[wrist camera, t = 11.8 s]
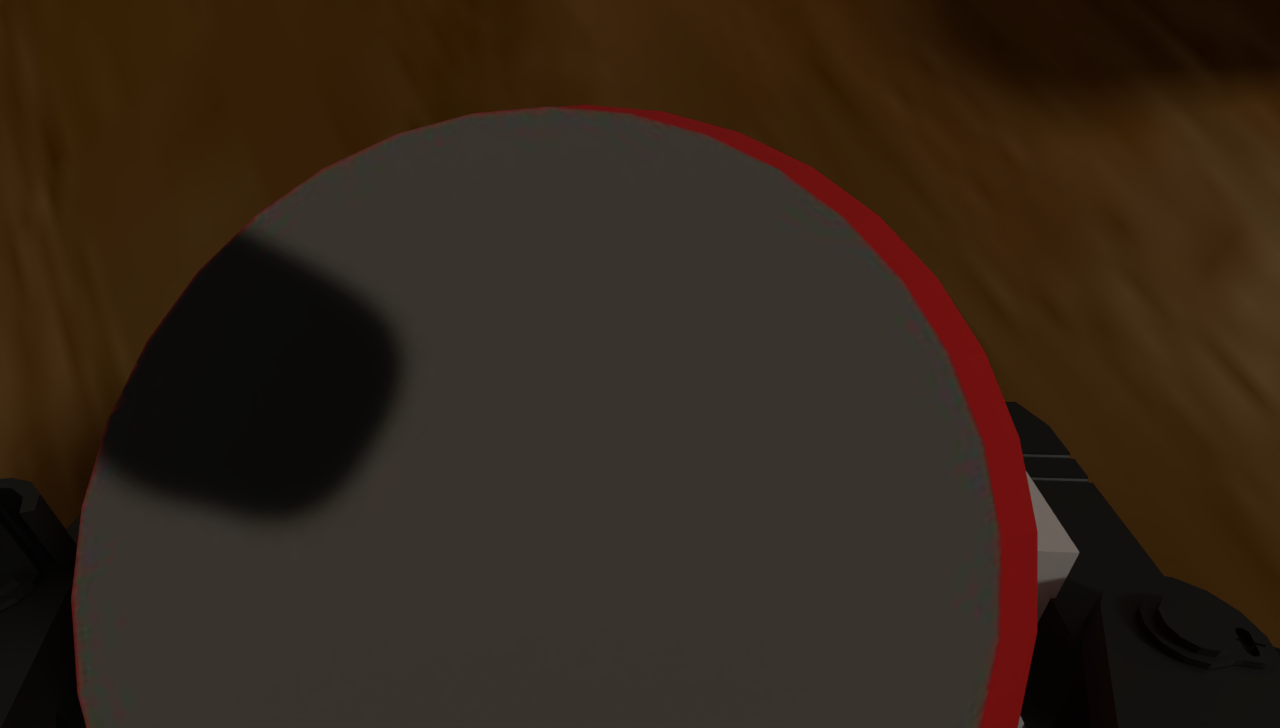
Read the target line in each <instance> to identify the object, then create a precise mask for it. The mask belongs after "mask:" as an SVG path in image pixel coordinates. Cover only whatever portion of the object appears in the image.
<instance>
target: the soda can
mask: <svg viewBox="0 0 1280 728" xmlns="http://www.w3.org/2000/svg"><path fill="white" fill-rule="evenodd" d="M1037 586H1038V531H1037V526H1036V521H1035V516H1034V511H1033V505H1032V500H1031V495H1030V490H1029V485H1028V480H1027V474H1026V469H1025V464H1024V459H1023V454H1022V449H1021V444H1020V438H1019V436H1018V433H1017V431H1016V428H1015V426H1014V423H1013V421H1012V418H1011V416H1010V413H1009V411H1008V408H1007V406H1006V403H1005V401H1004V398H1003V396H1002V393H1001V391H1000V388H999V386H998V383H997V381H996V378H995V376H994V373H993V371H992V368H991V366H990V364H989V361H988V359H987V356H986V354H985V352H984V350H983V348H982V347H981V345H980V344H979V342H978V341H977V339H976V338H975V336H974V334H973V333H972V331H971V330H970V328H969V327H968V325H967V324H966V322H965V320H964V319H963V317H962V316H961V314H960V313H959V311H958V310H957V308H956V306H955V305H954V303H953V302H952V300H951V299H950V297H949V295H948V294H947V292H946V291H945V289H944V288H943V286H942V285H941V283H940V281H939V280H938V278H937V277H936V276H935V275H934V274H933V273H932V272H931V271H930V270H929V269H928V268H927V267H926V265H925V264H924V263H923V262H922V261H921V260H920V259H919V258H918V257H917V256H916V255H915V254H914V253H913V252H912V251H911V250H910V249H909V247H908V246H907V245H906V244H905V243H904V242H903V241H902V240H901V239H900V238H899V237H898V236H897V235H896V234H895V233H894V232H893V231H892V230H891V228H890V227H889V226H888V225H887V224H886V223H885V222H884V221H883V220H882V219H881V218H880V217H879V216H878V215H877V214H875V213H874V212H873V211H871V210H870V209H869V208H867V207H866V206H864V205H863V204H862V203H860V202H859V201H858V200H856V199H855V198H853V197H852V196H851V195H849V194H848V193H847V192H845V191H844V190H842V189H841V188H840V187H838V186H837V185H836V184H834V183H833V182H831V181H830V180H829V179H827V178H826V177H825V176H823V175H822V174H820V173H819V172H818V171H816V170H815V169H814V168H812V167H811V166H808V165H806V164H804V163H802V162H800V161H798V160H796V159H794V158H792V157H790V156H787V155H785V154H783V153H781V152H779V151H777V150H775V149H773V148H771V147H769V146H767V145H764V144H762V143H760V142H758V141H756V140H754V139H752V138H750V137H748V136H746V135H743V134H741V133H739V132H736V131H733V130H729V129H725V128H721V127H718V126H714V125H710V124H707V123H703V122H699V121H696V120H692V119H688V118H684V117H681V116H677V115H673V114H670V113H666V112H662V111H651V110H639V109H628V108H616V107H604V106H593V105H576V106H565V107H552V106H549V107H538V108H528V109H517V110H506V111H495V112H484V113H473V114H469V115H465V116H462V117H458V118H454V119H451V120H447V121H443V122H440V123H436V124H432V125H429V126H425V127H421V128H417V129H414V130H410V131H406V132H403V133H399V134H396V135H394V136H392V137H389V138H387V139H385V140H383V141H381V142H379V143H377V144H374V145H372V146H370V147H368V148H366V149H364V150H362V151H359V152H357V153H355V154H353V155H351V156H349V157H347V158H344V159H342V160H340V161H338V162H336V163H334V164H332V165H329V166H327V167H325V168H323V169H322V170H320V171H319V172H317V173H316V174H315V175H313V176H312V177H310V178H309V179H307V180H306V181H304V182H303V183H302V184H300V185H299V186H297V187H296V188H294V189H293V190H291V191H290V192H289V193H287V194H286V195H284V196H283V197H281V198H280V199H278V200H277V201H276V202H274V203H273V204H271V205H270V206H268V207H267V208H265V209H264V210H263V211H261V212H260V213H258V214H257V215H256V216H255V217H254V218H253V219H252V220H251V221H250V222H249V223H248V224H247V225H246V226H245V227H244V228H242V229H241V230H240V231H239V232H238V233H237V234H236V235H235V236H234V237H233V238H232V239H231V240H230V241H229V242H228V243H227V244H226V245H225V246H224V247H223V248H222V249H221V250H220V251H219V252H218V253H217V254H216V255H215V256H214V257H213V258H212V259H211V260H210V261H209V262H208V263H207V264H206V265H205V266H204V267H203V268H201V269H200V270H199V271H198V272H197V274H196V275H195V276H194V278H193V279H192V281H191V282H190V283H189V285H188V286H187V287H186V289H185V290H184V291H183V293H182V294H181V296H180V297H179V298H178V300H177V301H176V302H175V304H174V305H173V307H172V308H171V309H170V311H169V312H168V313H167V315H166V316H165V318H164V319H163V320H162V322H161V323H160V324H159V326H158V327H157V328H156V330H155V331H154V333H153V334H152V335H151V337H150V338H149V339H148V341H147V342H146V344H145V346H144V348H143V350H142V352H141V354H140V356H139V358H138V360H137V362H136V364H135V366H134V368H133V371H132V373H131V375H130V377H129V379H128V381H127V383H126V385H125V387H124V389H123V391H122V393H121V395H120V397H119V399H118V401H117V403H116V405H115V407H114V409H113V411H112V413H111V415H110V417H109V419H108V421H107V424H106V428H105V431H104V434H103V438H102V441H101V444H100V448H99V451H98V454H97V458H96V461H95V464H94V468H93V471H92V474H91V478H90V481H89V484H88V488H87V491H86V494H85V498H84V501H83V504H82V509H81V518H80V526H79V535H78V544H77V552H76V561H75V570H74V579H73V587H72V596H71V605H72V619H73V634H74V649H75V664H76V678H77V693H78V698H79V701H80V705H81V709H82V713H83V716H84V720H85V724H86V728H1018V724H1019V719H1020V714H1021V709H1022V704H1023V699H1024V694H1025V690H1026V685H1027V680H1028V675H1029V670H1030V665H1031V660H1032V655H1033V650H1034V645H1035V640H1036V635H1037Z"/></svg>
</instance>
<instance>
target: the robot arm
mask: <svg viewBox="0 0 1280 728" xmlns="http://www.w3.org/2000/svg"><path fill="white" fill-rule="evenodd" d="M1005 403H1006V406H1007V408H1008V411H1009V413H1010V416H1011V418H1012V421H1013V423H1014V426H1015V428H1016V431H1017V433H1018V436H1019V438H1020V444H1021V449H1022V454H1023V459H1024V464H1025V469H1026V474H1027V480H1028V485H1029V490H1030V495H1031V500H1032V505H1033V511H1034V516H1035V521H1036V526H1037V531H1038V586H1037V635H1036V640H1035V645H1034V650H1033V655H1032V660H1031V665H1030V670H1029V675H1028V680H1027V685H1026V690H1025V694H1024V699H1023V704H1022V709H1021V714H1020V716H1021V718H1022V720H1023V722H1024V725H1023V727H1022V728H1280V649H1279V648H1276V647H1273V646H1272V644H1271V643H1270V641H1269V639H1268V638H1267V636H1265V635H1264V634H1263V633H1262V632H1261V631H1260V630H1259V629H1258V628H1257V627H1256V626H1255V625H1254V624H1253V623H1252V622H1250V621H1249V620H1248V619H1247V618H1246V617H1245V616H1244V615H1243V614H1242V613H1241V612H1240V611H1238V610H1237V609H1235V608H1233V607H1232V606H1230V605H1228V604H1227V603H1225V602H1224V601H1222V600H1220V599H1219V598H1217V597H1216V596H1214V595H1212V594H1211V593H1209V592H1208V591H1205V590H1203V589H1200V588H1198V587H1195V586H1193V585H1190V584H1188V583H1185V582H1183V581H1180V580H1178V579H1175V578H1172V577H1166V576H1164V575H1163V574H1162V573H1161V572H1160V570H1159V569H1158V568H1157V566H1156V565H1155V564H1154V562H1153V561H1152V560H1151V558H1150V557H1149V556H1148V555H1147V553H1146V552H1145V551H1144V549H1143V548H1142V547H1141V545H1140V544H1139V543H1138V541H1137V540H1136V539H1135V538H1134V536H1133V535H1132V534H1131V532H1130V531H1129V530H1128V528H1127V527H1126V526H1125V524H1124V523H1123V522H1122V521H1121V519H1120V518H1119V517H1118V515H1117V514H1116V513H1115V511H1114V510H1113V509H1112V508H1111V506H1110V505H1109V504H1108V502H1107V501H1106V500H1105V498H1104V497H1103V496H1102V494H1101V493H1100V492H1099V491H1098V489H1097V488H1096V487H1095V485H1094V484H1093V483H1088V476H1087V475H1086V474H1085V472H1084V471H1083V470H1082V468H1081V467H1080V466H1079V464H1078V463H1077V462H1076V461H1075V459H1070V453H1069V451H1068V450H1067V449H1066V447H1065V446H1064V445H1063V444H1062V442H1061V441H1060V440H1059V438H1058V437H1057V436H1056V434H1055V433H1054V432H1053V430H1052V429H1051V428H1050V427H1049V425H1047V424H1046V423H1044V422H1043V421H1041V420H1040V419H1039V418H1037V417H1036V416H1034V415H1033V414H1032V413H1030V412H1029V411H1027V410H1026V409H1025V408H1023V407H1022V406H1020V405H1019V404H1018V403H1016V402H1005ZM80 518H81V516H80V517H78V518H77V519H76V520H75V521H74V522H73V523H72V524H71V525H70V526H69V527H68V528H67V529H65V528H64V527H63V525H62V524H61V522H60V521H59V520H58V518H57V517H56V515H55V514H54V513H53V511H52V510H51V509H50V507H49V506H48V504H47V503H46V502H45V500H44V499H43V497H42V496H41V495H40V493H39V492H38V491H37V489H36V488H35V487H34V485H33V484H32V482H27V481H23V480H18V479H14V478H7V479H0V728H86V724H85V720H84V716H83V713H82V709H81V705H80V701H79V698H78V693H77V678H76V664H75V649H74V634H73V619H72V605H71V596H72V587H73V579H74V570H75V561H76V552H77V544H78V535H79V526H80Z"/></svg>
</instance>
